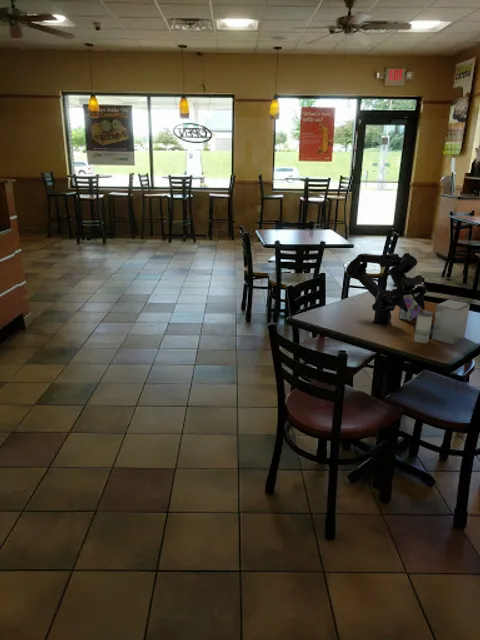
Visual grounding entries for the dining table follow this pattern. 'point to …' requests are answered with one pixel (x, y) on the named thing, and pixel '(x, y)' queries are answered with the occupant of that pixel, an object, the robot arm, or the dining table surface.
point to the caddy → (450, 321)
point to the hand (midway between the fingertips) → (415, 310)
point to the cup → (423, 326)
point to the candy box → (410, 307)
